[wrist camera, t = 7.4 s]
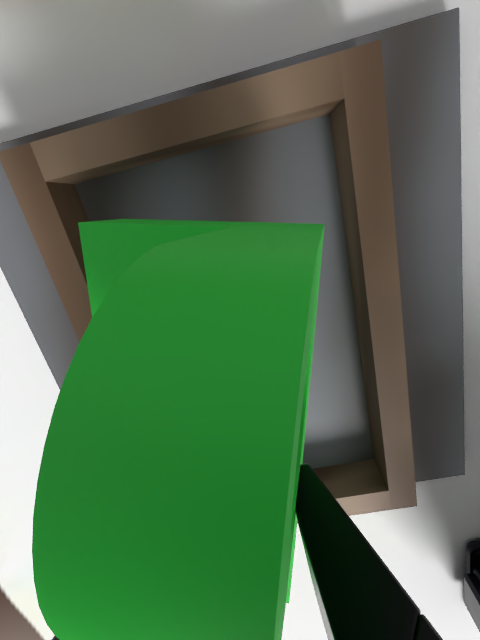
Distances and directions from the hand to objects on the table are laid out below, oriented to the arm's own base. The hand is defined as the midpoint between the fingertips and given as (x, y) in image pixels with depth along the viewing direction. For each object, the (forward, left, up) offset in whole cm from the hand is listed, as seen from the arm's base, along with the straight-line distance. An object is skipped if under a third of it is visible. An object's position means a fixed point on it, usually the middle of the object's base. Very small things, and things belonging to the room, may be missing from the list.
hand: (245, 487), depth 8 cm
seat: (0, 0, -9) cm, 9 cm away
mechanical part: (+1, 0, -4) cm, 4 cm away
